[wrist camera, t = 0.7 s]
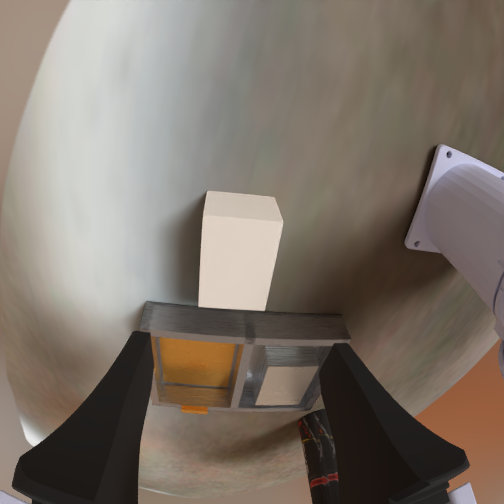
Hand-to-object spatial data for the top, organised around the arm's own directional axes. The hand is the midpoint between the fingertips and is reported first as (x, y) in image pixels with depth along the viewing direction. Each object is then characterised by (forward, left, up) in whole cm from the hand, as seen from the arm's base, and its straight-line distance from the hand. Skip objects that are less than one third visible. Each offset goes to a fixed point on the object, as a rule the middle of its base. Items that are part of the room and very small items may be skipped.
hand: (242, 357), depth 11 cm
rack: (-2, +12, -9) cm, 15 cm away
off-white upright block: (0, 0, -10) cm, 10 cm away
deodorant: (-14, +25, -10) cm, 30 cm away
